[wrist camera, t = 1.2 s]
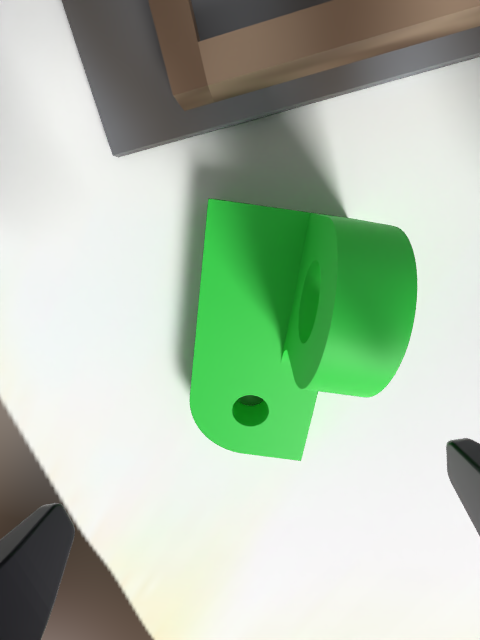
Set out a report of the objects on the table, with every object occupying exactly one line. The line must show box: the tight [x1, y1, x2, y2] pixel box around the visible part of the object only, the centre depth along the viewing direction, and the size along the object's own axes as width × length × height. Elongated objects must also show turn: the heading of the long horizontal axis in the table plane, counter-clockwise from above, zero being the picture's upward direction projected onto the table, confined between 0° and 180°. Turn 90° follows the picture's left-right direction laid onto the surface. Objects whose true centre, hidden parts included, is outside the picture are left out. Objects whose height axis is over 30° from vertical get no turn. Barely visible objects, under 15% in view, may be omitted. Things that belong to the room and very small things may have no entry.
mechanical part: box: [190, 199, 417, 461], centre depth 13 cm, size 12×6×8 cm, turn 172°
